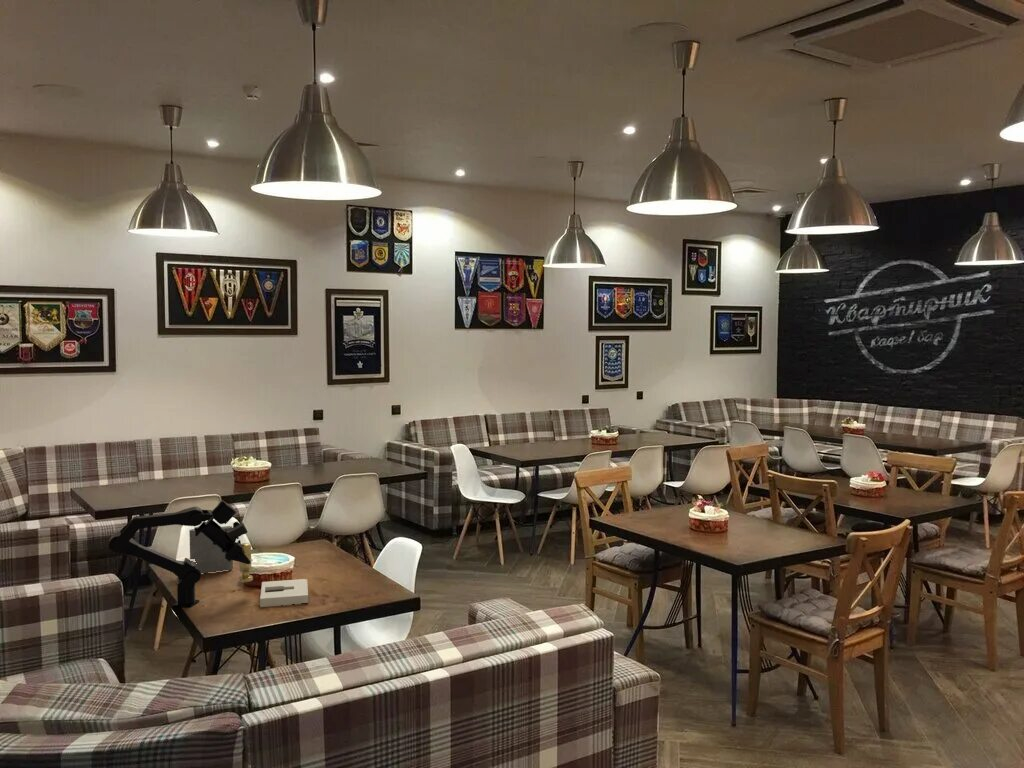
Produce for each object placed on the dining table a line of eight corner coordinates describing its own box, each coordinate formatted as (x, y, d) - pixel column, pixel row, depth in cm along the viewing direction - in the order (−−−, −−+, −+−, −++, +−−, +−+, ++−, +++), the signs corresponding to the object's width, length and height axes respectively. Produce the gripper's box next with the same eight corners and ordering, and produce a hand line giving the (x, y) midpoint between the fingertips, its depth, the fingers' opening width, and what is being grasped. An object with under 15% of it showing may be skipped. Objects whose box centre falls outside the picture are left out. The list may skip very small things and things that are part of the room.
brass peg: (249, 582, 294) (248, 546, 293) (236, 582, 295) (235, 545, 294) (255, 578, 299) (254, 543, 298) (242, 578, 299) (241, 542, 299)
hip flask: (232, 568, 333) (231, 519, 332) (233, 571, 330) (232, 521, 329) (190, 573, 327) (189, 523, 326) (190, 576, 323) (189, 525, 322)
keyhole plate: (260, 607, 286) (260, 598, 286) (262, 590, 306) (262, 582, 305) (308, 603, 290) (308, 595, 290) (307, 586, 310) (307, 578, 309)
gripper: (234, 522, 285) (268, 550, 290) (231, 511, 302) (263, 538, 307) (210, 546, 283) (245, 575, 287) (208, 534, 300) (241, 561, 305)
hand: (249, 561), depth 297 cm, fingers closed on brass peg, 4 cm apart
